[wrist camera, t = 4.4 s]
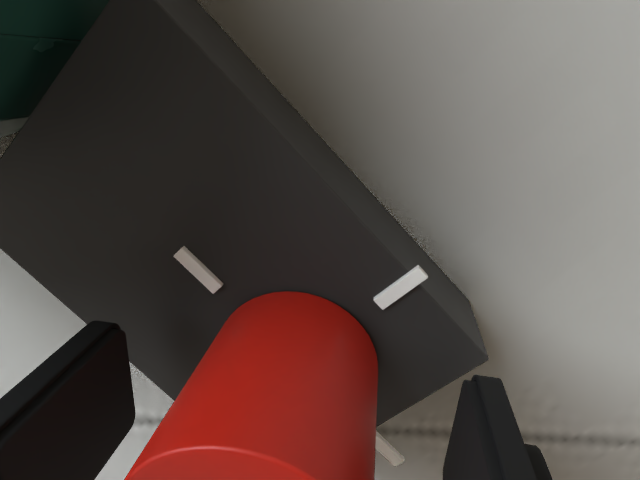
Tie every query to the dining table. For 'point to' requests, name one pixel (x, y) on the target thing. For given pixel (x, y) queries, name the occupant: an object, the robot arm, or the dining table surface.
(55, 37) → the pot
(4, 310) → the dining table surface
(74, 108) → the marked dark base plate
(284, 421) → the knob
